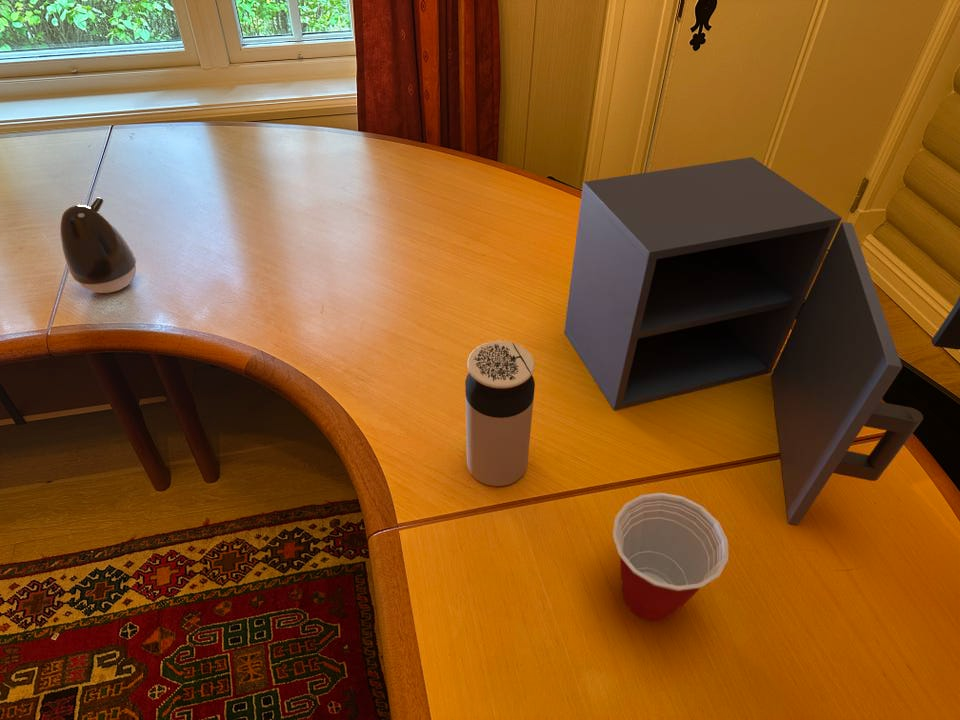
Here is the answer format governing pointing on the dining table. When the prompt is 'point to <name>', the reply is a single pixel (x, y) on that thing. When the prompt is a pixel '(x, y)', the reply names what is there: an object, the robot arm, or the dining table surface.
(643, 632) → the dining table surface
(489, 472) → the travel mug
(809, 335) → the cupboard door
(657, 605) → the plastic cup
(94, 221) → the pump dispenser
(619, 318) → the cupboard
